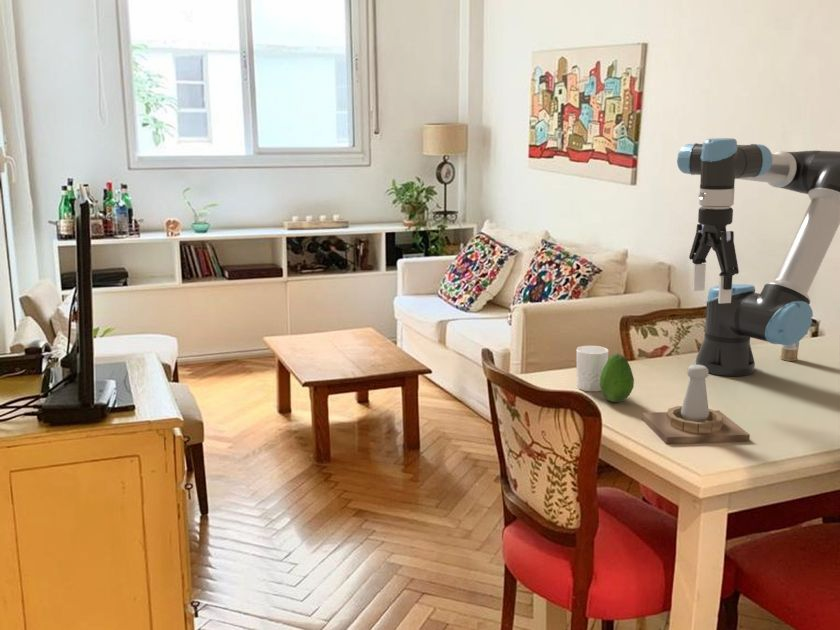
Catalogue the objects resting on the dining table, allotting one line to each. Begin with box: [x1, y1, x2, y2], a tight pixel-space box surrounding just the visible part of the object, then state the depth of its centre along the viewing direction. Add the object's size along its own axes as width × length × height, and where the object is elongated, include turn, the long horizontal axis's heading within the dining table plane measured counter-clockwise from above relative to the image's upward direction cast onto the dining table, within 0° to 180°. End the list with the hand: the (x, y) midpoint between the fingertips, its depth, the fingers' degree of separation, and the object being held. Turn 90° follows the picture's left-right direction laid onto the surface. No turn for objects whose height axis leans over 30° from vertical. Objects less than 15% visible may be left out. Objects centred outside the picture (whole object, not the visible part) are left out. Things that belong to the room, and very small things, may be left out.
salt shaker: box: [681, 364, 710, 422], centre depth 180 cm, size 6×6×13 cm
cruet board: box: [641, 405, 751, 445], centre depth 181 cm, size 18×15×4 cm
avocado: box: [600, 353, 635, 403], centre depth 199 cm, size 8×8×12 cm
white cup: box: [576, 345, 610, 392], centre depth 210 cm, size 8×8×10 cm
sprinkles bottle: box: [780, 341, 800, 362], centre depth 234 cm, size 5×5×13 cm
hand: (711, 296), depth 197 cm, fingers open, 13 cm apart
